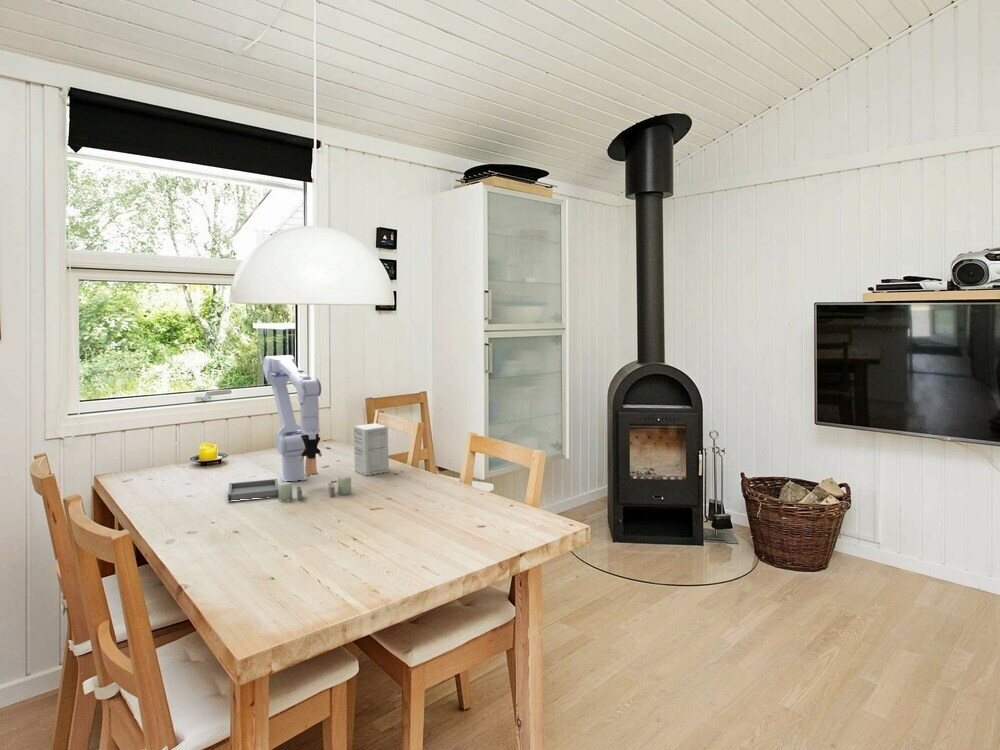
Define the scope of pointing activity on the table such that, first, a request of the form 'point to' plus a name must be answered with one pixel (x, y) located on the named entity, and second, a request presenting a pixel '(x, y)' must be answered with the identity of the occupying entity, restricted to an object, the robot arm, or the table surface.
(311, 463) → the grandmother figurine
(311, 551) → the table surface
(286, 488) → the pale green rounded block
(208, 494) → the table surface
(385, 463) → the supplement box
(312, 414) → the robot arm
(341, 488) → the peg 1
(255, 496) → the tray
